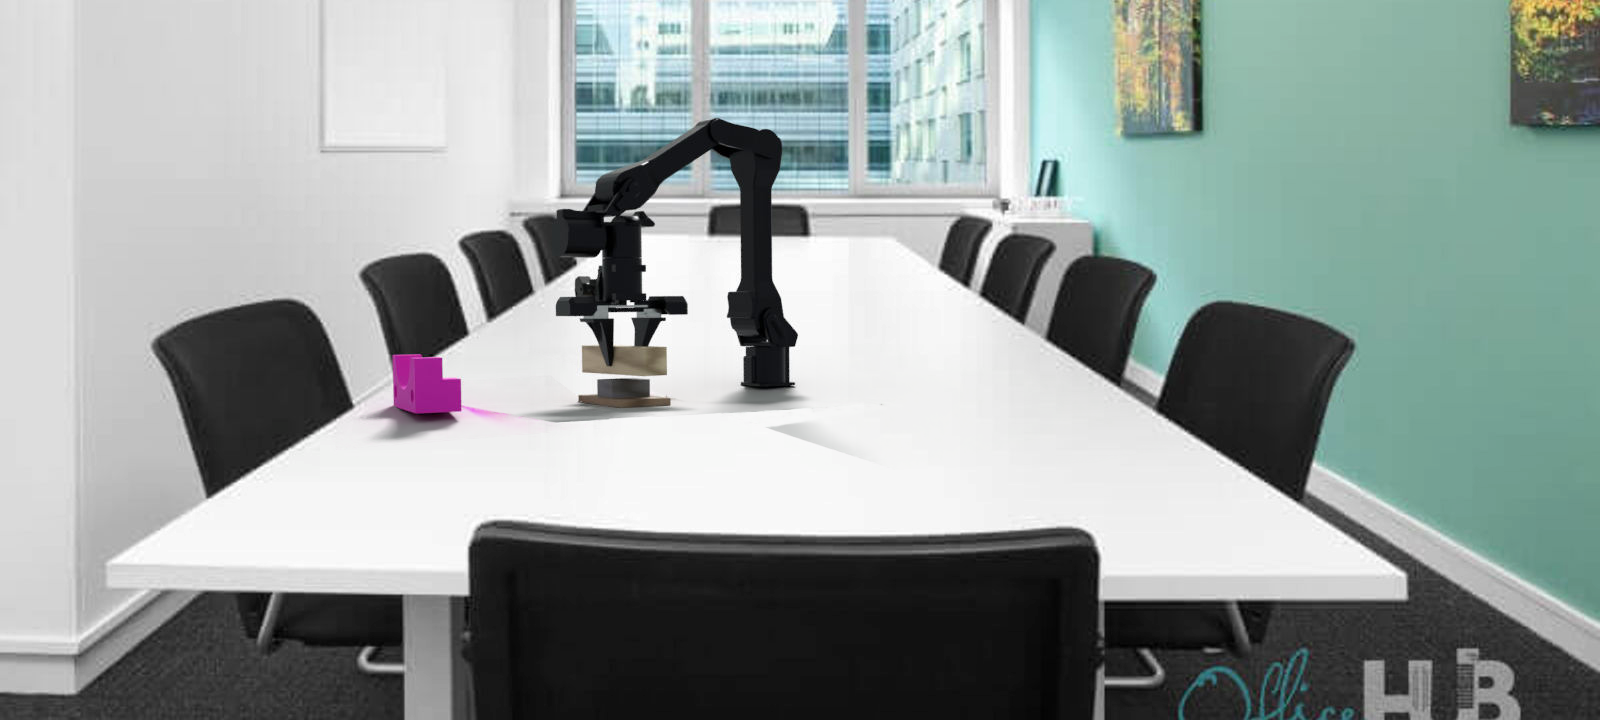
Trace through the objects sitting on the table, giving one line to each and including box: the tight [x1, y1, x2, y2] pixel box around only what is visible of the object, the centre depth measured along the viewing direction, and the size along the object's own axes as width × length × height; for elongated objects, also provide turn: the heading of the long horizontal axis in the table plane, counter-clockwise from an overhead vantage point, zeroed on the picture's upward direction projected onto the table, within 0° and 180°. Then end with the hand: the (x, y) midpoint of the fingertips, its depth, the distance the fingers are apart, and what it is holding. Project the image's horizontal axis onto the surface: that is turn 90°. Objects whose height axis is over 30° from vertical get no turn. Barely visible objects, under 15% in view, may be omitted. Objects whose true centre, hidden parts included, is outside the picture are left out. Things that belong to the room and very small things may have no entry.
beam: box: [581, 344, 668, 377], centre depth 196 cm, size 4×16×4 cm, turn 41°
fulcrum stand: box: [578, 377, 672, 409], centre depth 196 cm, size 8×14×4 cm, turn 33°
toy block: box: [392, 353, 463, 414], centre depth 191 cm, size 15×6×8 cm, turn 28°
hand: (623, 365), depth 196 cm, fingers closed on beam, 4 cm apart
